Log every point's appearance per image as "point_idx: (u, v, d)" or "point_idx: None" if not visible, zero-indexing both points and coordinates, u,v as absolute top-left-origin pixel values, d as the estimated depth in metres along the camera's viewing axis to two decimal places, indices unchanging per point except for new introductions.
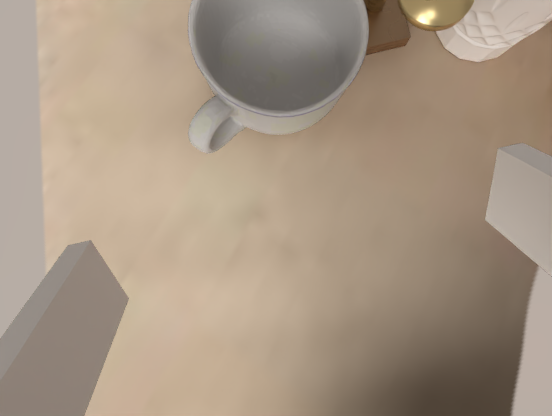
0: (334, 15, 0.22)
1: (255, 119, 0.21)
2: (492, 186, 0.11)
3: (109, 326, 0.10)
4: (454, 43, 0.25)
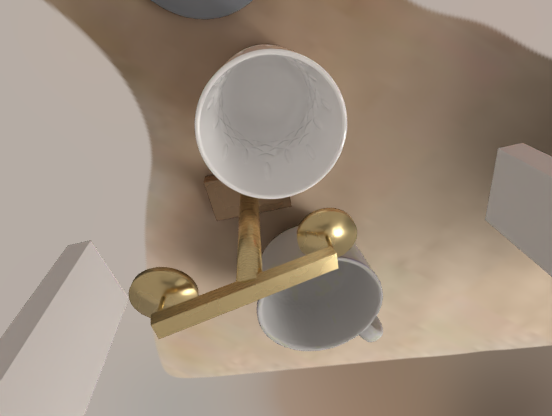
0: None
1: None
2: (492, 186, 0.11)
3: (109, 326, 0.10)
4: None
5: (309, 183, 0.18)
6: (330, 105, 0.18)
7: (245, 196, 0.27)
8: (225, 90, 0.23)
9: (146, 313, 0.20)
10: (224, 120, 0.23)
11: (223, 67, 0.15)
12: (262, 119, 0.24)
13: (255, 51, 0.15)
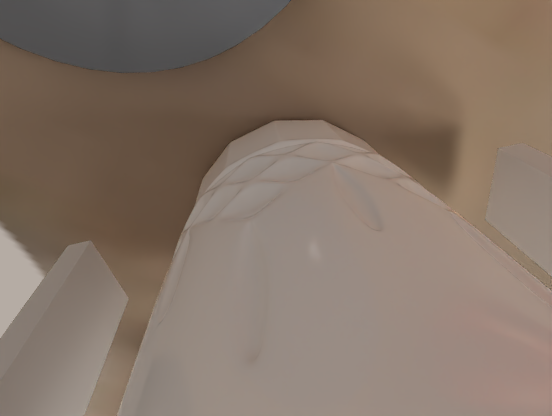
0: None
1: None
2: (492, 186, 0.10)
3: (109, 326, 0.10)
4: None
5: None
6: None
7: None
8: None
9: None
10: None
11: None
12: None
13: None
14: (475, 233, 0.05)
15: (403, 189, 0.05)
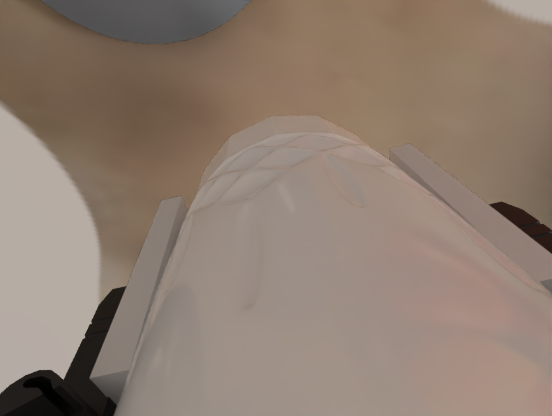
0: None
1: None
2: None
3: None
4: None
5: None
6: None
7: None
8: None
9: None
10: None
11: None
12: None
13: None
14: (450, 213, 0.05)
15: (387, 174, 0.06)
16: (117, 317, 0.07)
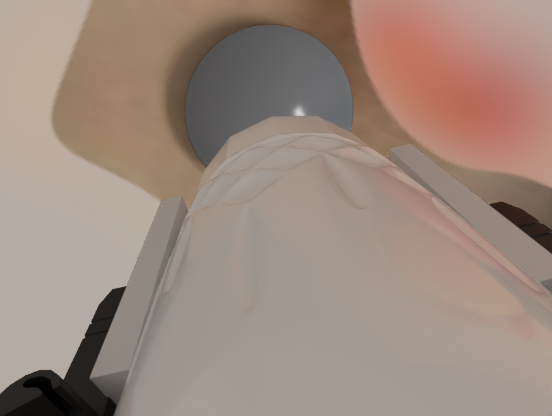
0: None
1: None
2: None
3: None
4: None
5: None
6: None
7: None
8: None
9: None
10: None
11: None
12: None
13: None
14: (451, 214, 0.05)
15: (388, 175, 0.06)
16: (116, 317, 0.07)
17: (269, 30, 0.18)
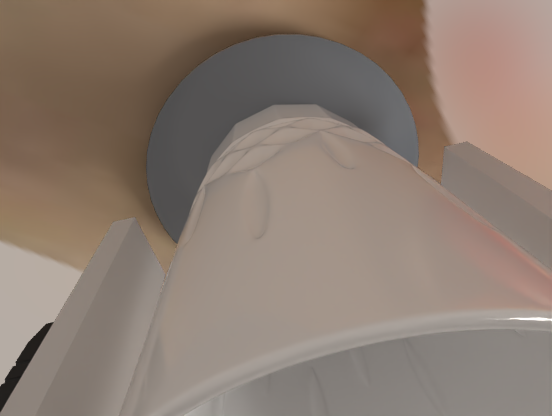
0: None
1: None
2: (442, 182, 0.11)
3: (152, 297, 0.11)
4: None
5: None
6: None
7: None
8: None
9: None
10: None
11: (195, 396, 0.03)
12: None
13: (362, 327, 0.03)
14: (428, 178, 0.06)
15: (375, 148, 0.07)
16: (31, 364, 0.06)
17: (288, 44, 0.10)
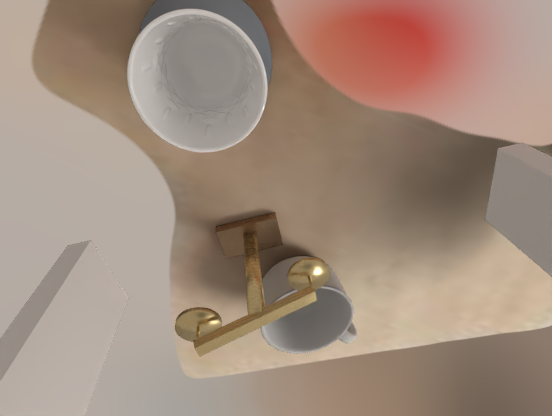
0: None
1: None
2: (492, 186, 0.11)
3: (109, 326, 0.10)
4: None
5: (240, 136, 0.20)
6: (255, 64, 0.20)
7: (248, 242, 0.36)
8: (168, 59, 0.24)
9: (186, 338, 0.29)
10: (169, 87, 0.24)
11: (146, 27, 0.17)
12: (207, 87, 0.26)
13: (174, 11, 0.17)
14: None
15: None
16: None
17: None
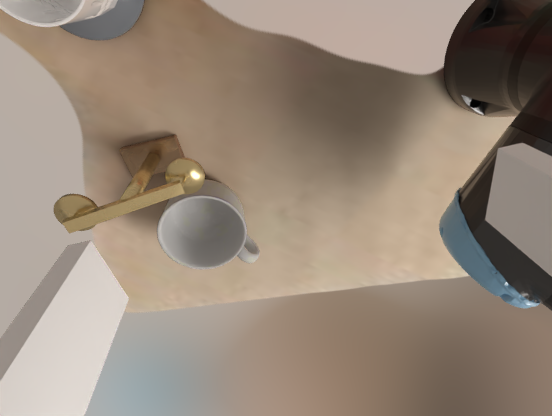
0: None
1: None
2: (492, 186, 0.11)
3: (109, 326, 0.10)
4: (113, 4, 0.31)
5: (73, 11, 0.24)
6: None
7: (146, 158, 0.39)
8: None
9: None
10: None
11: None
12: None
13: None
14: None
15: None
16: None
17: None
